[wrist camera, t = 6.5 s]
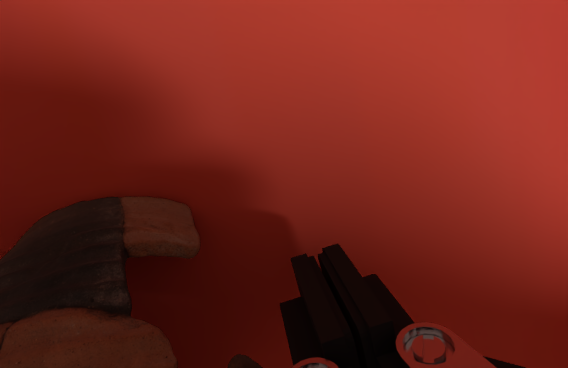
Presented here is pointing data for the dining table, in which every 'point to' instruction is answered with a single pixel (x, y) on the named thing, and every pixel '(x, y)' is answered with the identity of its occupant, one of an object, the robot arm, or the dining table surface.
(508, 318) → the dining table surface
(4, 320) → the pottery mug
